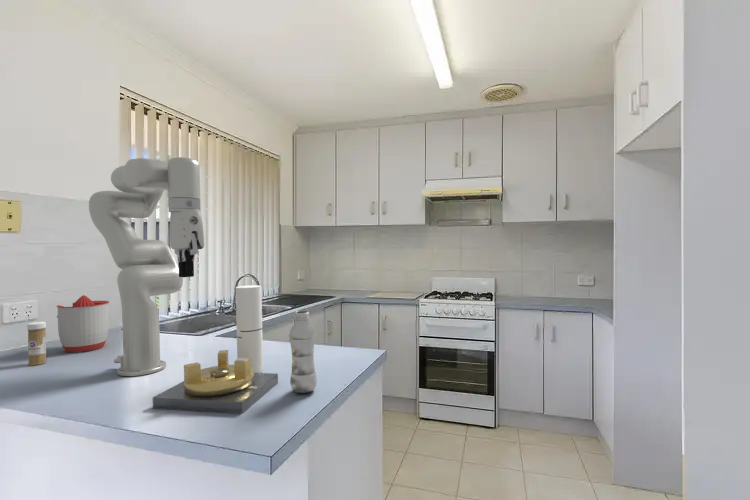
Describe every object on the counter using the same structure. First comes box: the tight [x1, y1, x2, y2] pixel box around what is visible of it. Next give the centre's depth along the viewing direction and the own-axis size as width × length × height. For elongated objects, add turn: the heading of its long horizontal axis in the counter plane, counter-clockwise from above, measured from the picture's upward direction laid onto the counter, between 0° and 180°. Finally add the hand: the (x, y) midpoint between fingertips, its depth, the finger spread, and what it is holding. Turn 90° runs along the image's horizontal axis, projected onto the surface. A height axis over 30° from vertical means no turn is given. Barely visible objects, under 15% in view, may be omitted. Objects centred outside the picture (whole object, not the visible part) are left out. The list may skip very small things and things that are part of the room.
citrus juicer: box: [56, 294, 110, 353], centre depth 143 cm, size 16×17×20 cm
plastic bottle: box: [288, 310, 318, 394], centre depth 97 cm, size 6×7×20 cm
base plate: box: [152, 372, 279, 414], centre depth 96 cm, size 22×19×3 cm
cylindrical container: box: [235, 284, 264, 373], centre depth 113 cm, size 7×7×25 cm
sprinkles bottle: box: [26, 321, 48, 366], centre depth 125 cm, size 5×5×13 cm
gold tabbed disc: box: [183, 349, 254, 396], centre depth 96 cm, size 16×16×6 cm
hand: (186, 276), depth 101 cm, fingers closed
